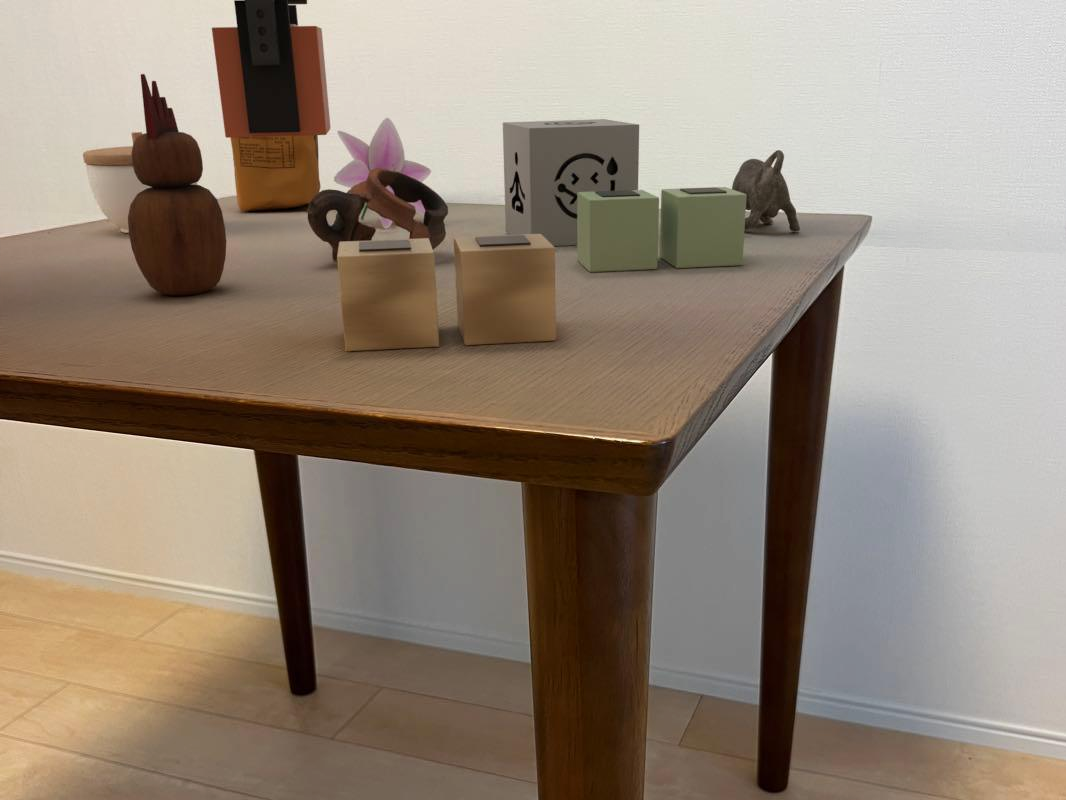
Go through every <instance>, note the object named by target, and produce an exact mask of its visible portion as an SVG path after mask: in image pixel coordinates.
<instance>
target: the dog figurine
mask: <svg viewBox="0 0 1066 800" xmlns="http://www.w3.org/2000/svg"><path fill="white" fill-rule="evenodd" d="M784 160H785V154H784V153H783V151H782V150H780V149H778V150H775V151H774V152H773V153H772V154H770V156H769V157H768V158H767V159H765V161H762V160H761V159H758V158H750V159H747V160H745V161H744V162H742V164H741V165H740V166H739V169H738V172H737V173H736V175H735V177H734V179H733V182H732V186H731V189H732V190H735V191H738V192H741V193H744V194H746V211H750V214H749V216H747V217H745V230H744V231H747V230H749V229H750V228H753V227H755V226H757V225H758V224H759V223H760V222H761V223H763V224H764V225H770V224H772V223H773V222H774V220H773V219H774V218H776V217H777V216H778V214H779V212H780V210H781V211H783V213H784V214H785V215H786V218H787V221H788V224H789V230H790V231H792V232H799V231H800V230H801V227H800V224H799V220H798V218H797V210H796V207H795V206H794V205H793V203H792V201H791V196H790V192H789V187H788V184H787V181H786V179H785V178H784V175H783V173H782V168H783V164H784ZM774 162H775V163H774ZM773 164H774V165H773Z"/></svg>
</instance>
